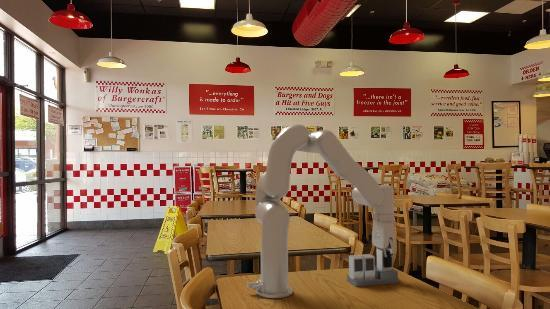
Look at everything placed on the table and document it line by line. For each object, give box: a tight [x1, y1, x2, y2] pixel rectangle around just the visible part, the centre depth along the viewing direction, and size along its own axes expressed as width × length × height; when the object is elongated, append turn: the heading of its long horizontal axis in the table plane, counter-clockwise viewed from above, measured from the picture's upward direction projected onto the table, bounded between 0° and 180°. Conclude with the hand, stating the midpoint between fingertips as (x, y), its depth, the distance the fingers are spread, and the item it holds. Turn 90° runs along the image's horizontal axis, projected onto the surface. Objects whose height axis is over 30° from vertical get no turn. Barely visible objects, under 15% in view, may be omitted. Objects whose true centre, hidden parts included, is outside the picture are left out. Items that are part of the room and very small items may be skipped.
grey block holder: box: [346, 253, 400, 288], centre depth 153 cm, size 17×8×10 cm, turn 104°
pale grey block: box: [376, 248, 393, 271], centre depth 154 cm, size 4×4×8 cm
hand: (384, 265), depth 154 cm, fingers closed on pale grey block, 4 cm apart
